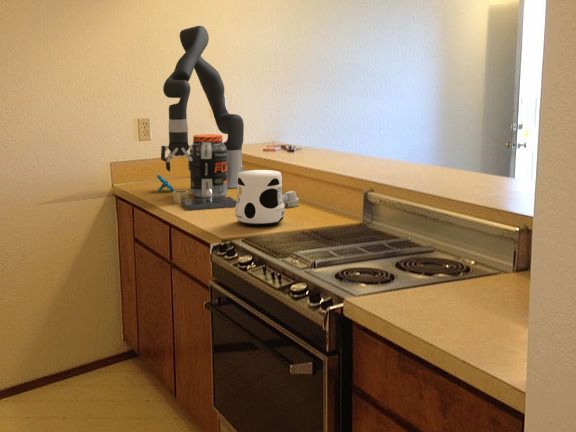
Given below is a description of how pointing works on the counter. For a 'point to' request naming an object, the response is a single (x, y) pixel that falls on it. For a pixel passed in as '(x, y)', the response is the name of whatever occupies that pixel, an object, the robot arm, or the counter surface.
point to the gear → (164, 184)
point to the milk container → (259, 197)
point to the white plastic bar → (290, 199)
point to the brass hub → (180, 196)
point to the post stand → (208, 202)
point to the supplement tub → (209, 166)
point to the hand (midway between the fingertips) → (179, 170)
